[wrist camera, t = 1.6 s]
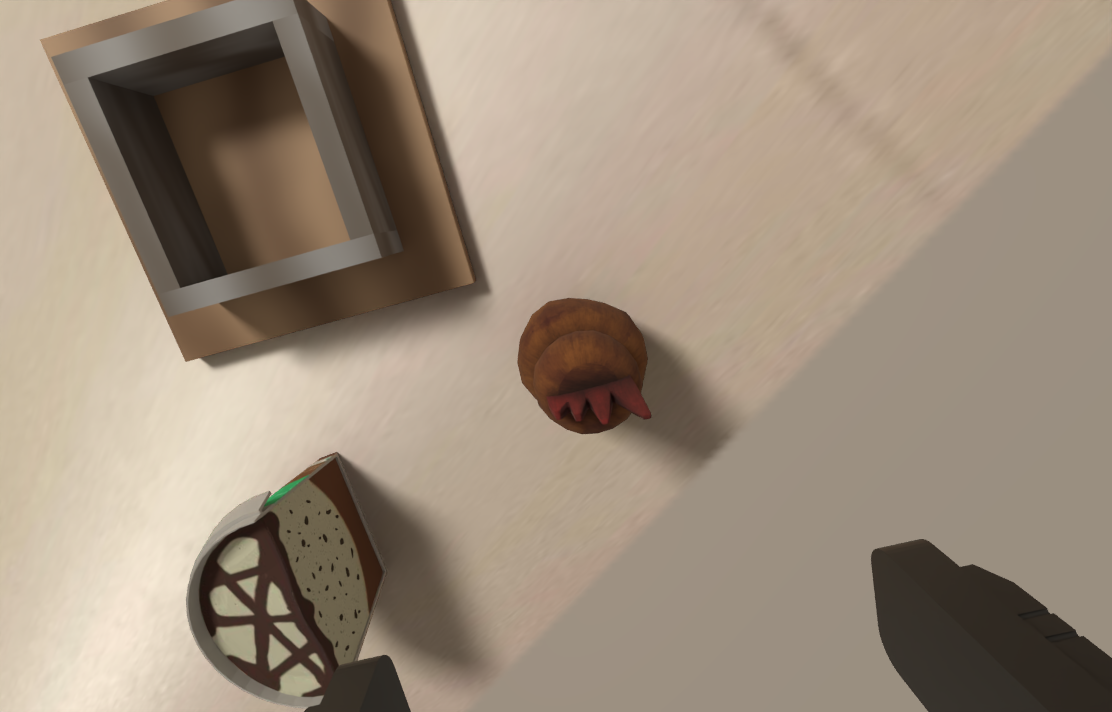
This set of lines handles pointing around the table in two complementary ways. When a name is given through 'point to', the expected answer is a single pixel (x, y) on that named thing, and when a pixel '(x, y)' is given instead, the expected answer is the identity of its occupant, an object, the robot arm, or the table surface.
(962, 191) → the table surface
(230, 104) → the collar board
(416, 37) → the table surface
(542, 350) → the wooden figurine
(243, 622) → the food container
